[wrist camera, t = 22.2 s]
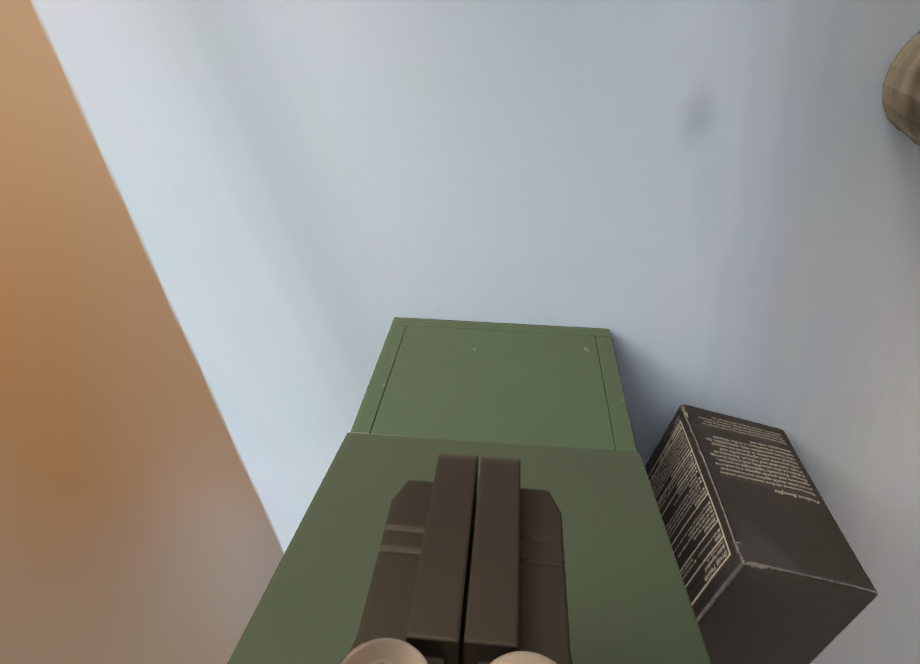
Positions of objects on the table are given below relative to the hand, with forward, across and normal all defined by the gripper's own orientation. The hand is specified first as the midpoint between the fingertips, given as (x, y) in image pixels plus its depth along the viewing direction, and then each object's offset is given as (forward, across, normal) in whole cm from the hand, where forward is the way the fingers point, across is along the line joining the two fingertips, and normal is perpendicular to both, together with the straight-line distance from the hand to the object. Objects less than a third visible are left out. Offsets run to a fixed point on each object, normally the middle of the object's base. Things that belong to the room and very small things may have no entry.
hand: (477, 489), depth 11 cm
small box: (+19, -12, +18) cm, 29 cm away
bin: (+19, 0, +13) cm, 23 cm away
